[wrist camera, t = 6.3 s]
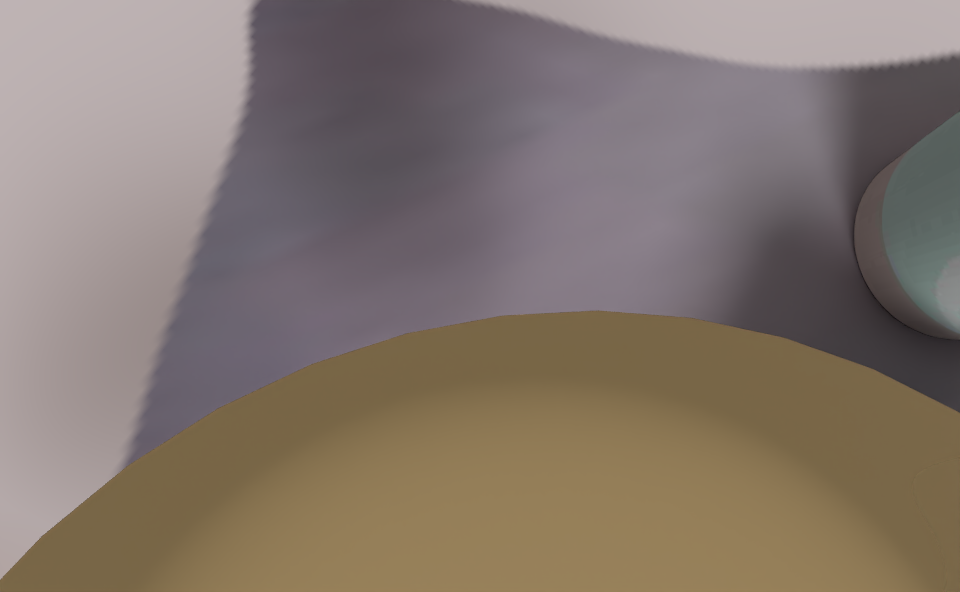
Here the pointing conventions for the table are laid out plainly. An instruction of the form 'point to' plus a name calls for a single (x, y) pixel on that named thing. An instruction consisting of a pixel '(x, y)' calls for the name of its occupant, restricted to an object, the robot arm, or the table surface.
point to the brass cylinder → (537, 473)
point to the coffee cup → (916, 234)
